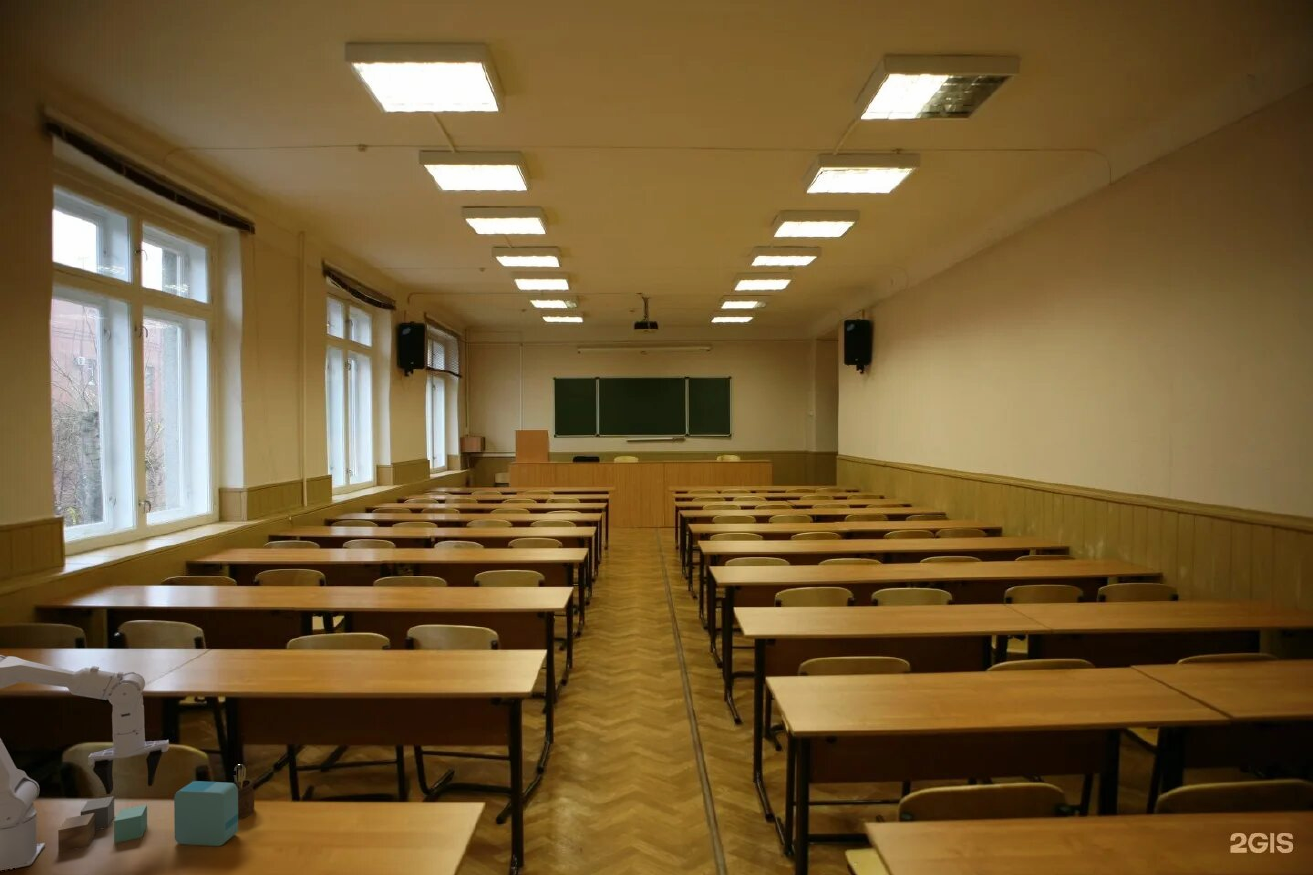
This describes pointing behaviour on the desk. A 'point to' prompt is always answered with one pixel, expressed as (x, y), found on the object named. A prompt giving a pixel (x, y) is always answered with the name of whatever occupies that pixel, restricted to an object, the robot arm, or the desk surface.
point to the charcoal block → (100, 811)
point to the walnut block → (76, 832)
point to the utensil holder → (244, 795)
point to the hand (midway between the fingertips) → (130, 787)
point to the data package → (206, 813)
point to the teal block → (130, 823)
